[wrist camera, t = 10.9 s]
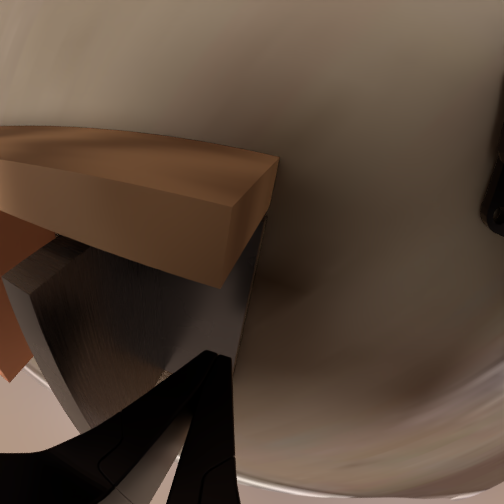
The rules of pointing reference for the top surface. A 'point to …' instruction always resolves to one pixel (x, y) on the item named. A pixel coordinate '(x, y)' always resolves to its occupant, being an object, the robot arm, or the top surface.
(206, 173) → the shelf
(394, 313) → the top surface
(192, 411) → the robot arm
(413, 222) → the top surface
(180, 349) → the bookend
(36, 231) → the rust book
